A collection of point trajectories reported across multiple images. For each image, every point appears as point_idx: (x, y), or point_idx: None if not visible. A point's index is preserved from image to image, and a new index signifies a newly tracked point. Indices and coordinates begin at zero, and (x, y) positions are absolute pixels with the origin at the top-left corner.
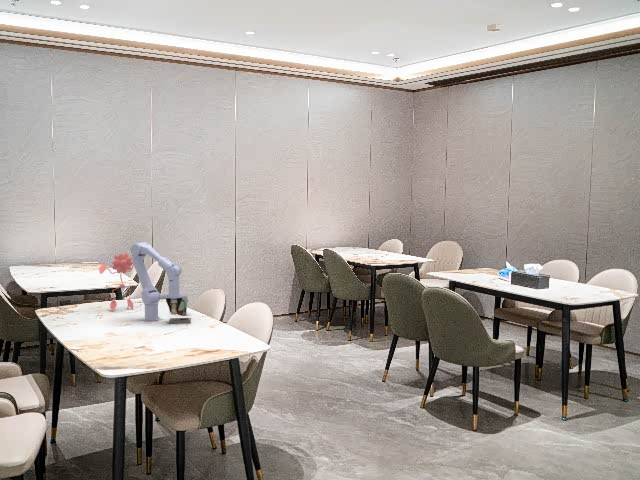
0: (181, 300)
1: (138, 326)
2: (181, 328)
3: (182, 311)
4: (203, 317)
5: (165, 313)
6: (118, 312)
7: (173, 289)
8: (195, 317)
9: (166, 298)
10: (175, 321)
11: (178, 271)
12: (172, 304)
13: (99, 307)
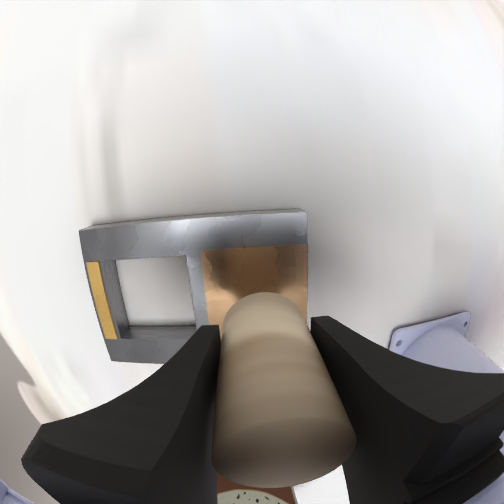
0: (30, 457)
1: (489, 149)
2: (156, 27)
3: (224, 483)
4: (80, 410)
5: (324, 479)
6: None
7: None
8: None
9: (494, 480)
10: (231, 214)
11: None
12: (322, 403)
13: None
